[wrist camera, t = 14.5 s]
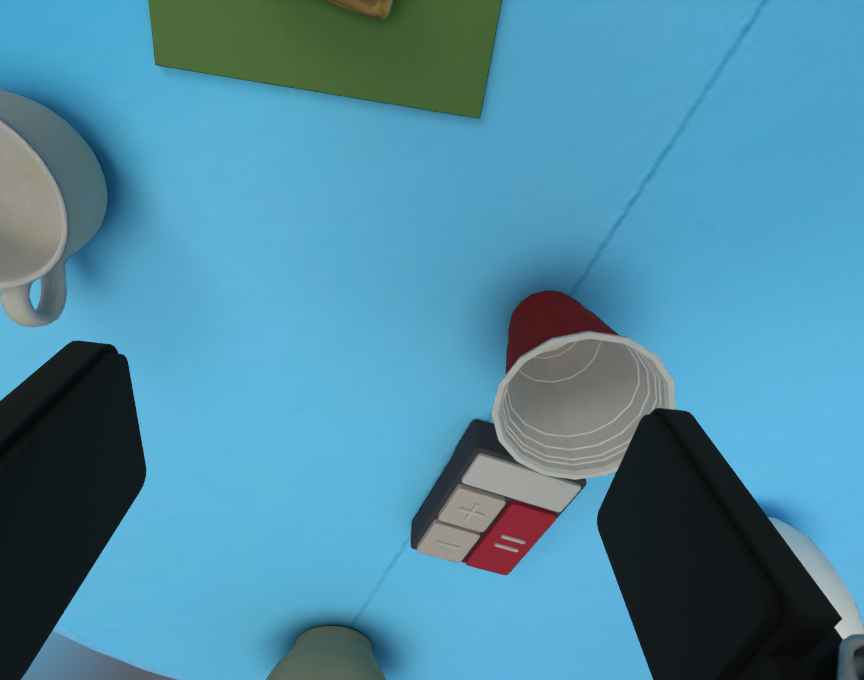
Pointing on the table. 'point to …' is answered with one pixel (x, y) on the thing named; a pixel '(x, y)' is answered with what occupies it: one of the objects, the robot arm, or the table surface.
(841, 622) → the white vase
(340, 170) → the table surface
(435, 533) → the calculator
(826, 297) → the table surface
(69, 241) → the teacup
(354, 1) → the carved stone cylinder
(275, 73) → the green mat
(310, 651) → the planter bowl
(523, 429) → the plastic cup
